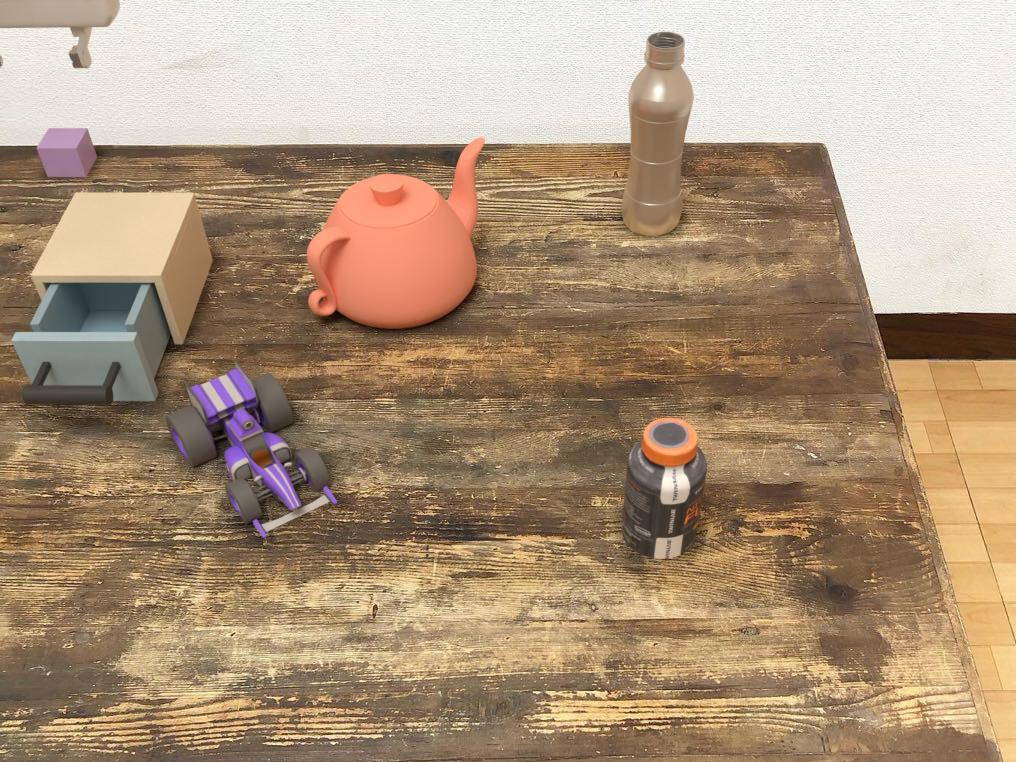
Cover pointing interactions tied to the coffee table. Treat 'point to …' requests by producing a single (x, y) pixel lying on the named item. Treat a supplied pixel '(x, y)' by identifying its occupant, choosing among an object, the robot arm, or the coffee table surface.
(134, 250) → the drawer cabinet
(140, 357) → the blue drawer
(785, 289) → the coffee table surface
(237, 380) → the toy race car
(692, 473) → the pill bottle
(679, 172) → the plastic bottle
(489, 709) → the coffee table surface
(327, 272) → the teapot
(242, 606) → the coffee table surface
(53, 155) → the purple cube
